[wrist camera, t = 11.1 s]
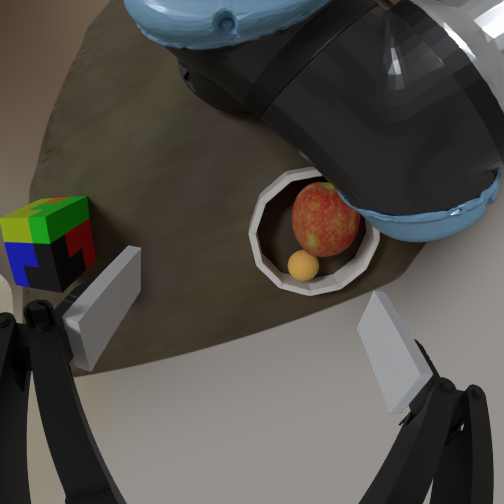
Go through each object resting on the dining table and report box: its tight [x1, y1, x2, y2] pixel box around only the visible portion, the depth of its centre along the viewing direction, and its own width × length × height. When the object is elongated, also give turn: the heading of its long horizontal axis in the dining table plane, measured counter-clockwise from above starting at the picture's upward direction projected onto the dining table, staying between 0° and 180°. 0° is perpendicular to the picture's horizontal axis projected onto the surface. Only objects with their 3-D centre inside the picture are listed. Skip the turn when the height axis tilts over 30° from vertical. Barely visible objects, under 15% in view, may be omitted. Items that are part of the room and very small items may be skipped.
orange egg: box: [288, 250, 319, 281], centre depth 36 cm, size 4×4×4 cm
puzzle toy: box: [0, 196, 96, 293], centre depth 33 cm, size 10×10×10 cm
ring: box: [249, 166, 380, 296], centre depth 35 cm, size 16×16×3 cm
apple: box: [292, 182, 360, 257], centre depth 32 cm, size 8×8×8 cm
